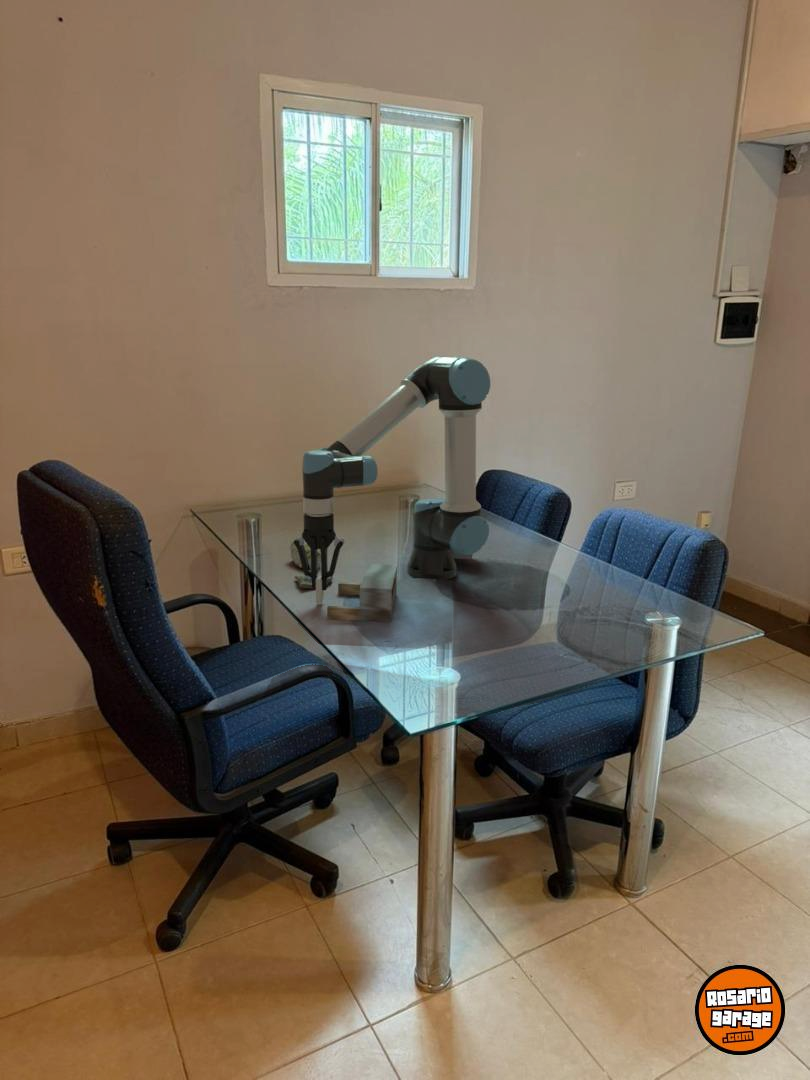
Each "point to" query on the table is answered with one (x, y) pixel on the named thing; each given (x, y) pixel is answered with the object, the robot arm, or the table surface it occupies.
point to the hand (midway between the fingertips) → (319, 601)
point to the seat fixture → (369, 595)
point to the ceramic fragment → (308, 581)
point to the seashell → (296, 556)
